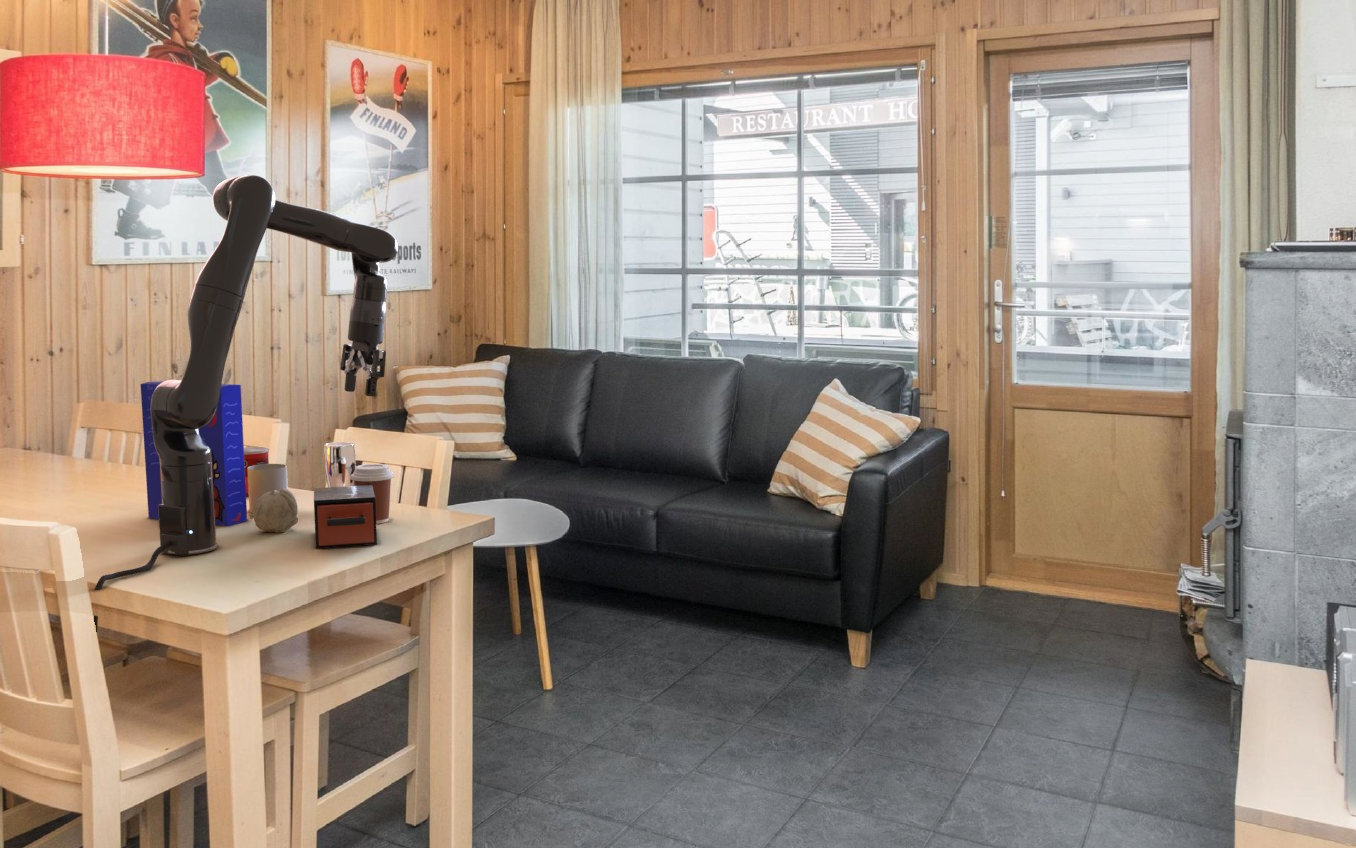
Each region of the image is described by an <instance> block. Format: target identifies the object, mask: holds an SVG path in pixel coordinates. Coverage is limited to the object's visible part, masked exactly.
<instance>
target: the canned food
mask: <svg viewBox="0 0 1356 848" xmlns="http://www.w3.org/2000/svg"><path fill="white" fill-rule="evenodd" d="M244 463H245V483H246V497H249V490H248V470H247V468H248V467H250V466H253V465H260V464H270V463H269V450H268V447H263V446H249V447H248V446H247V447H246V446H244Z"/></svg>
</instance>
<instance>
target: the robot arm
mask: <svg viewBox="0 0 1356 848" xmlns="http://www.w3.org/2000/svg"><path fill="white" fill-rule="evenodd" d="M212 193H213V194H212V205H213V208H214V210H215V211H216V214H218V216H220V217H221V218H222V219H223V220H225V221H226V226H225V229H224V231H223V235H222V237H221V240H220V241H219V243H218V245H217V246H216V247H215V249H214V251H213V252H212V253H211V255H210V256H209V258H208V259H207V261H206V262H205V263H204V265H203V266H202V268H201V269H200V272H199V274H198V276H197V277H196V279H195V282H194V286H193V288H192V292H191V297H190V298H189V304H188V307H187V326H188V332H189V333H188V334H189V343H190V349H189V350H190V351H189V356H188V361H187V363H186V367H185V371H184V373H183V375H182V378H181V379H179V378H178V379H172V378H171V379H167V380H163V381H164V382H162V383H161V384H159V385H158V386H157V387H156V389H155V390H154V392H153V395H152V399H151V420H152V429H153V439H154V445H155V448H156V451H157V453H158V455H159V458H160V472H161V490H162V504H159V505H158V514H159V519H158V527H159V529H158V530H159V531H158V532H159V545H160V546H159V547H157V548H156V549H155V550H154V551H153V553H152V555H151V557H150V559H149V561H148V562H147V563H146V564H144V565H141V566H138V567H136V568H130V569H125V570H121V571H116V572H113V573H108V574H103V575H101V577H100V578H99V579H98V581H97V582H96V584H95V587H94V591H100V590H102V589H103V586H104V584H105V582H106V581H111V580H115V579H118V578H123V577H127V576H133V575H137V574H140V573H143V572H146V571H148V570H150V569H151V568H152V567H153V566H154V565H155V564H156V561H157V559H158V557H159V555H160V554H167V555H171V556H172V555H174V556H179V557H186V556H189V555H198V554H205V553H208V552H211V551H214V550H216V549H217V548H218V543H217V532H216V531H217V530H216V529H217V528H216V525H215V510H214V491H213V472H212V454H211V449H210V447H209V446H208V445H207V444H206V443H205V442H204V441H203V440H202V438H201V436H200V434H199V430H198V429H200V428H202V427H204V426H206V425H207V424H208V423H209V422H210V421H211V420H212V418H213V417H214V414H215V412H216V409H217V406H218V401H219V396H220V390H221V384H223V378H224V372H225V367H226V362H227V358H228V355H229V352H230V348H231V344H232V341H233V337H234V333H235V329H236V326H237V324H238V321H239V318H240V314H241V311H242V307H243V305H244V300H245V296H246V292H247V288H248V285H249V282H250V278H251V276H252V273H253V269H254V264H255V261H256V257H257V254H258V251H259V248H260V245H261V243H262V241H263V239H264V235H265V234H266V232H267V229H268V230H272V231H275V232H278V233H279V232H280V233H283V234H287V235H289V236H294V237H296V238H300V239H302V240H305V241H309V242H311V243H314V244H317V245H320V246H323V247H326V248H328V249H332V250H335V251H338V252H343V253H350V255H351V263H352V271H353V275H354V282H353V283H354V285H353V295H352V301H351V304H350V311H349V321H348V330H347V340H348V341H350V342H352V343H351V344H346V343H344V344H343V345H342V351H341V352H342V353H341V354H342V355H341V358H340V359H341V360H340V368H339V369H340V371H343V373H344V374H345V380H344V391H345V392H350V393H354V392H355V391H356V383H357V373H358V371H359V370H360V369H361V368H362V370H363V371H365V374H366V380H365V391H364V395H365V396H366V397H375V396H377V395H376V394H377V386H378V380H380V378H384V377H385V372H386V360H387V351H386V350H385V349H378V345H381V344H383V343H384V334H385V333H384V332H385V325H386V314H387V312H386V311H387V310H386V309H387V308H386V306H387V305H386V303H387V293H388V279H387V277H386V276H385V275H384V274H381V272H380V264H385V263H388V262H391V261H393V259H395V258H396V256H397V254H398V251H399V245H398V241H397V239H396V237H395V236H394V235H393V233H391V232H389V231H387V230H385V229H382V228H378V227H375V226H372V225H371V226H370V225H366V224H363V223H358V222H354V221H352V220H350V219H348V218H345V217H342V216H341V215H340V216H339V215H336V214H334V213H331V212H328V211H326V210H322V209H317V208H313V207H307V206H302V205H297V204H293V203H288V202H285V201H282V200H278V199H276V193H275V190H274V188H273V186H272V184H271V183H270V182H269V180H267V179H266V178H265V177H263V176H261V175H255V174H251V175H250V174H249V175H242V176H235V177H231V178H227V179H225V180H223V181H222V182H220V183H218V185H216V187H215V188H214V190H213V192H212ZM93 615H94V614H93ZM94 622H95V625H96V632H97V633H98V624H99V616H98V615H94Z"/></svg>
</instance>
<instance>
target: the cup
mask: <svg viewBox="0 0 1356 848" xmlns="http://www.w3.org/2000/svg"><path fill="white" fill-rule="evenodd" d="M247 470H248V490H249V496H248V507H249V509H248V510H249V512H250V514H253V507H254V505H255V502H256V500H257V499H258V498H259V497H260V496H262V495H263V494H265V493H267V492H271V491H273V490H279V489H281V488H285V489H288V490H289V483H288V481H289V480H288V465H286V464H285V463H284V464H283V463H269V464H260V465H253V466H250V467H248V468H247Z"/></svg>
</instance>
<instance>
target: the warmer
mask: <svg viewBox="0 0 1356 848" xmlns="http://www.w3.org/2000/svg"><path fill="white" fill-rule="evenodd" d="M367 501H368V502H369V503H370V502H372V503H373V526H374V542H369V543H354V544H339V545H324V546H319V537H318V513H317V506H318V505H321V504H332V503H350V502H367ZM313 509H314V510H313V514H314V538H315V549H316V550H317V549H318V550H319V549H329V548H346V547H347V548H348V547H359V546H360V547H361V546H374V545H375V546H376V545H378V537H377V535H378V534H377V533H378V532H377V524H376V503H375V494H374V491H373V487H372V485H364V486H355V485H353V486H345V487H328V486H327V487H314V488H313Z"/></svg>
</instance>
